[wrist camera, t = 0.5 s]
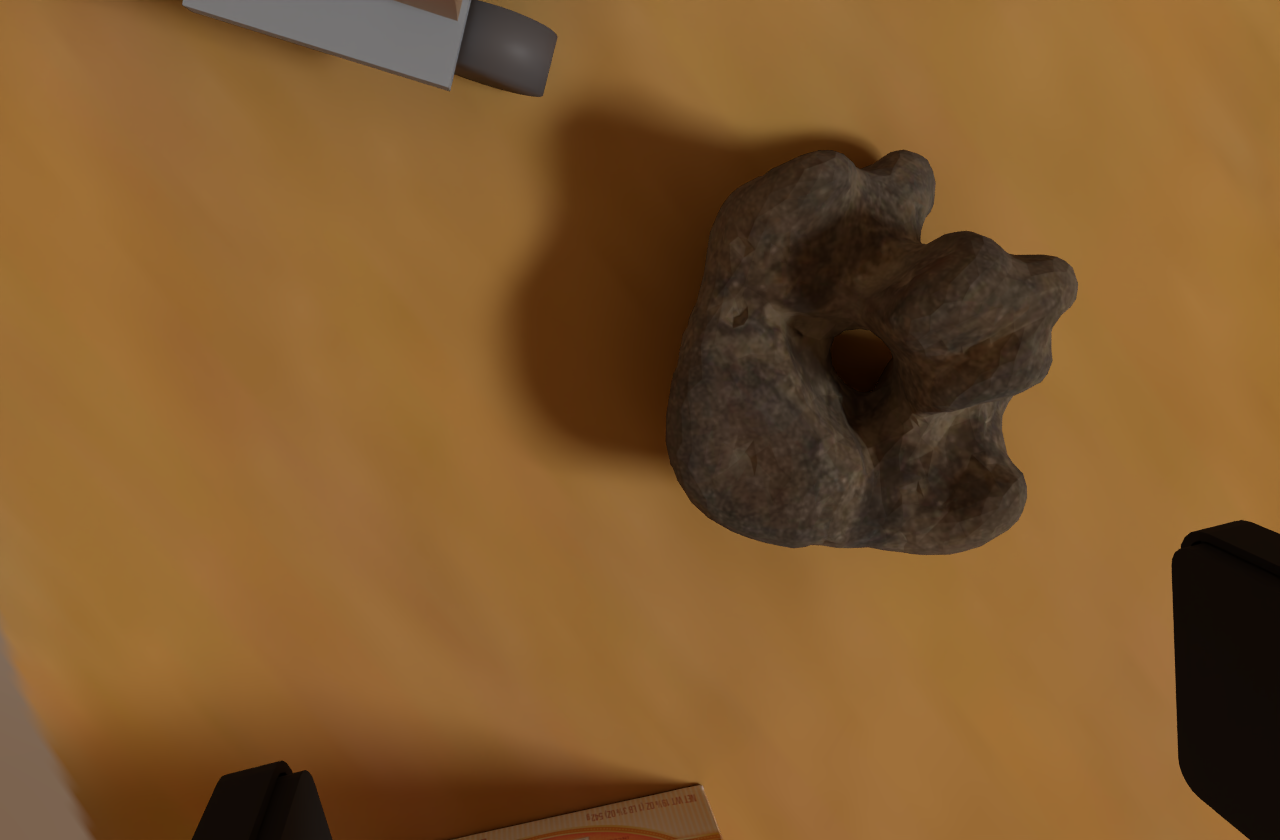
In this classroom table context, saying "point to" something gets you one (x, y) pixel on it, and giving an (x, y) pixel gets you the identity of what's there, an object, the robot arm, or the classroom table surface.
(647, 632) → the classroom table surface
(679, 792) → the coffeecake box
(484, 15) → the trolley
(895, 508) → the decorative stone
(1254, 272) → the classroom table surface
